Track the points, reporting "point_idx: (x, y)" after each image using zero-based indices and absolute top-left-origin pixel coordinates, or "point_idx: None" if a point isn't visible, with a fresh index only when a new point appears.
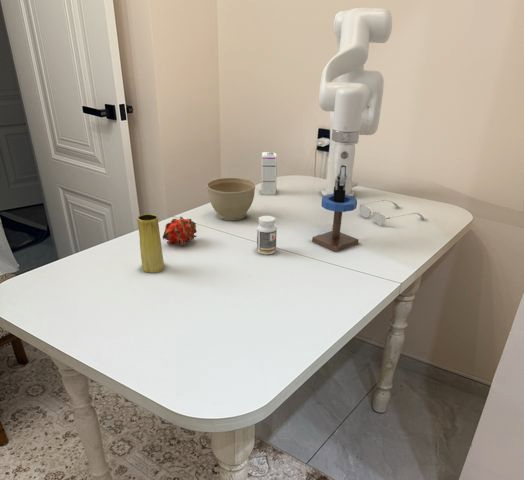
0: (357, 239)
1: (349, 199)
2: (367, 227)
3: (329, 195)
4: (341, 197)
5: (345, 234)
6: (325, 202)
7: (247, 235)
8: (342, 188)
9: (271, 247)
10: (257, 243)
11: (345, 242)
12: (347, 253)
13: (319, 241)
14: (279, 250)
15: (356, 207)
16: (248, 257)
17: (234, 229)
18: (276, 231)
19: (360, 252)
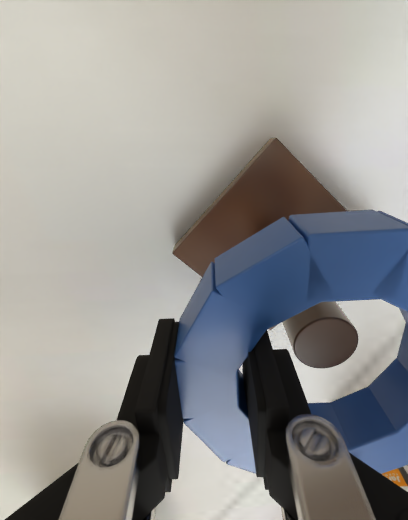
0: (277, 143)
1: (310, 301)
2: (26, 79)
3: (240, 447)
4: (293, 374)
5: (219, 204)
6: (403, 460)
7: (240, 470)
8: (379, 482)
9: None
10: None
11: (321, 203)
12: (381, 187)
13: None
14: None
15: (376, 211)
16: None
17: (202, 495)
18: (399, 476)
19: (372, 125)
